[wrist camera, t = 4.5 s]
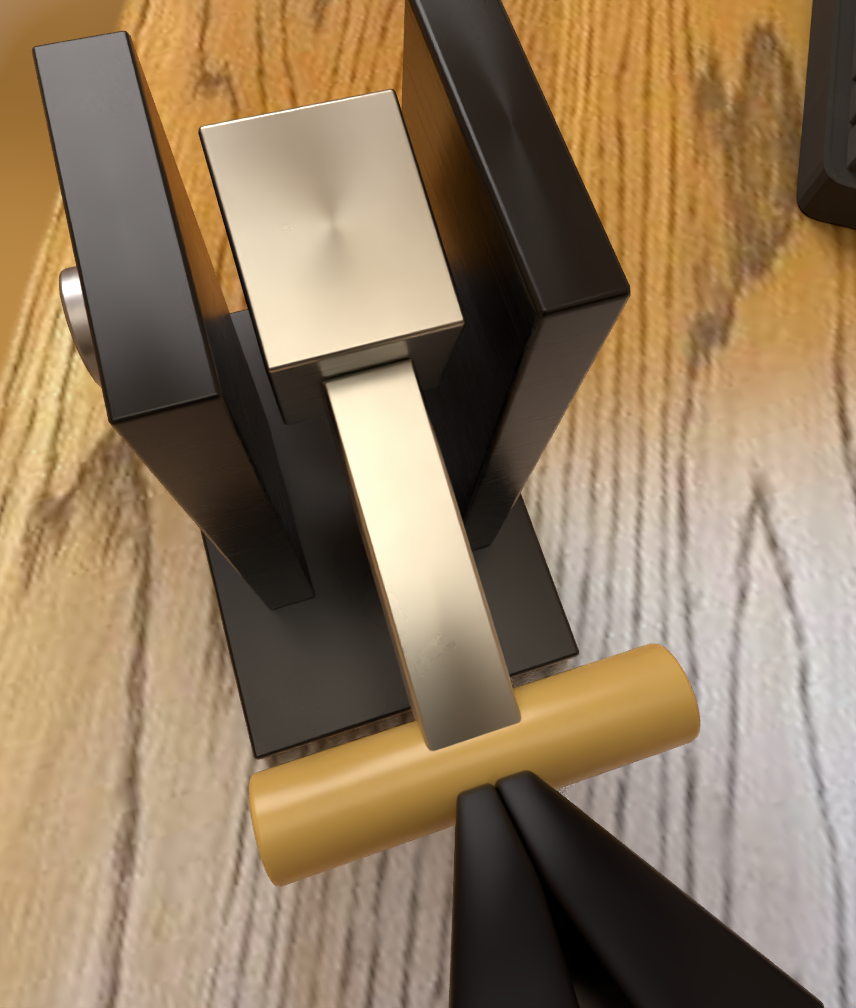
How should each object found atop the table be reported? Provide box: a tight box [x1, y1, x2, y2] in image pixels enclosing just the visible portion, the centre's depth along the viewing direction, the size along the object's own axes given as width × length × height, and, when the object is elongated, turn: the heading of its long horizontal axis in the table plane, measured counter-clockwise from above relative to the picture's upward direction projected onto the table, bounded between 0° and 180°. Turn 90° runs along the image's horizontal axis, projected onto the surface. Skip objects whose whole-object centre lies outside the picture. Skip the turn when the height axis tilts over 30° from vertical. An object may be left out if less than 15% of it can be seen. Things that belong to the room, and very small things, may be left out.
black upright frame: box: [32, 0, 630, 760], centre depth 12 cm, size 10×7×11 cm
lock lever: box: [198, 89, 700, 886], centre depth 9 cm, size 8×5×2 cm, turn 18°
